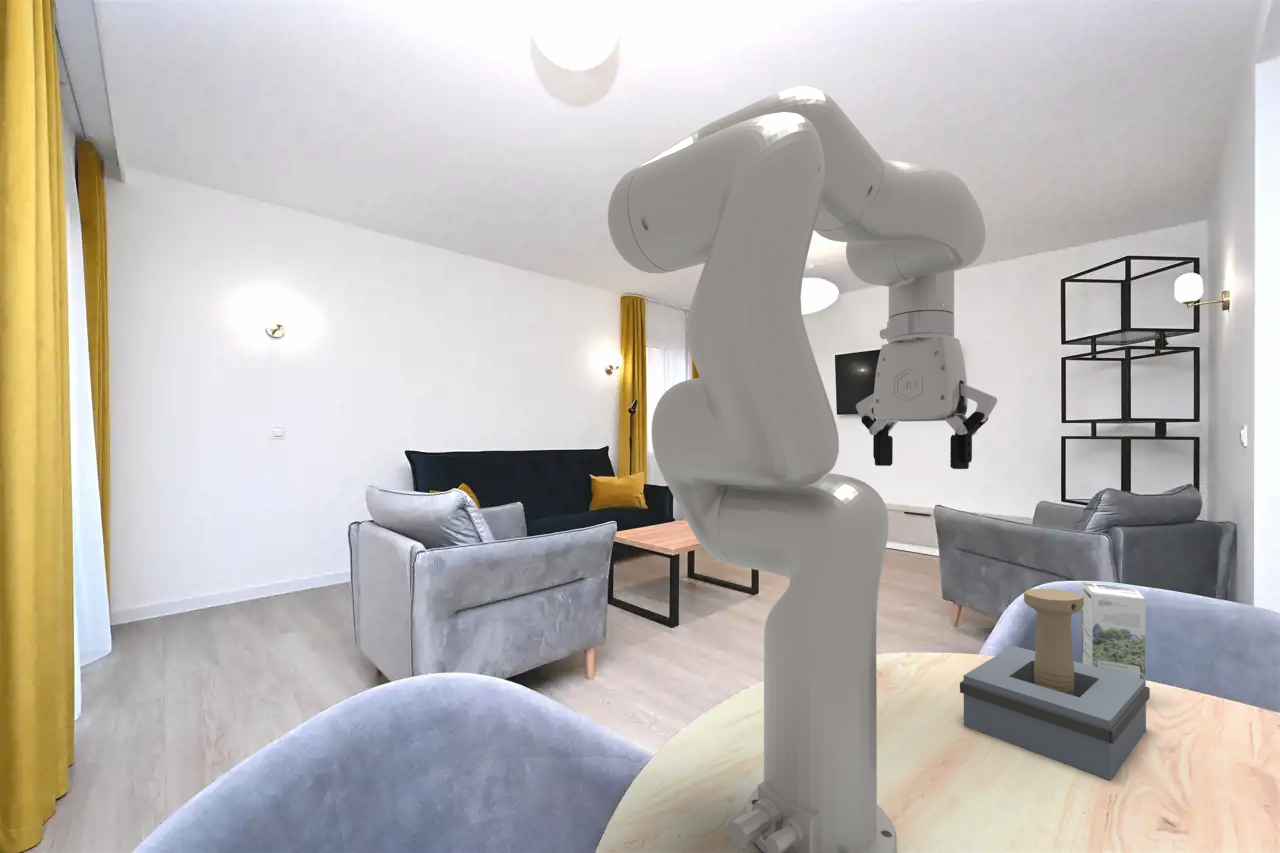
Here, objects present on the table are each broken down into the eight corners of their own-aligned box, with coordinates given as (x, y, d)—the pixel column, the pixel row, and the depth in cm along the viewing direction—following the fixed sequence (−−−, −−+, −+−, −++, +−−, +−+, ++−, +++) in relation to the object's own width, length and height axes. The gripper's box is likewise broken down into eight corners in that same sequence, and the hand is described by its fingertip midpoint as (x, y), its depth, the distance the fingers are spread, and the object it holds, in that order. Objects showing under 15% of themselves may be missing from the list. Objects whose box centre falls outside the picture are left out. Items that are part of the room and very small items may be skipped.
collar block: (1113, 782, 57) (1112, 723, 58) (960, 724, 69) (959, 675, 69) (1149, 730, 68) (1149, 679, 68) (1011, 687, 79) (1011, 644, 79)
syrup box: (1132, 690, 79) (1131, 585, 79) (1147, 708, 73) (1146, 595, 74) (1081, 681, 81) (1080, 580, 81) (1092, 698, 76) (1091, 590, 76)
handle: (1094, 725, 67) (1093, 597, 67) (1053, 733, 65) (1052, 602, 65) (1054, 706, 72) (1053, 587, 72) (1015, 713, 70) (1014, 591, 70)
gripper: (842, 337, 77) (841, 464, 76) (980, 315, 63) (979, 470, 62) (874, 345, 81) (873, 464, 80) (1008, 325, 67) (1008, 470, 66)
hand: (919, 467), depth 71 cm, fingers open, 9 cm apart
